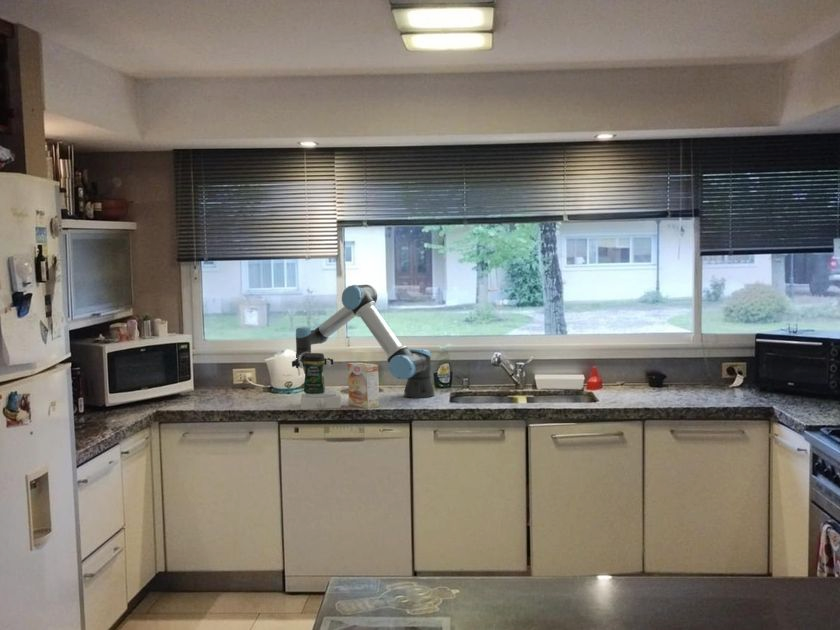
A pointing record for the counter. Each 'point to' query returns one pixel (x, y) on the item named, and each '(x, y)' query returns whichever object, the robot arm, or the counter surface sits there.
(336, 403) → the clear plastic food container
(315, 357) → the coffee jar
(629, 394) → the counter surface
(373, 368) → the coffeecake box
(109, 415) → the counter surface
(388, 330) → the robot arm
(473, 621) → the counter surface
